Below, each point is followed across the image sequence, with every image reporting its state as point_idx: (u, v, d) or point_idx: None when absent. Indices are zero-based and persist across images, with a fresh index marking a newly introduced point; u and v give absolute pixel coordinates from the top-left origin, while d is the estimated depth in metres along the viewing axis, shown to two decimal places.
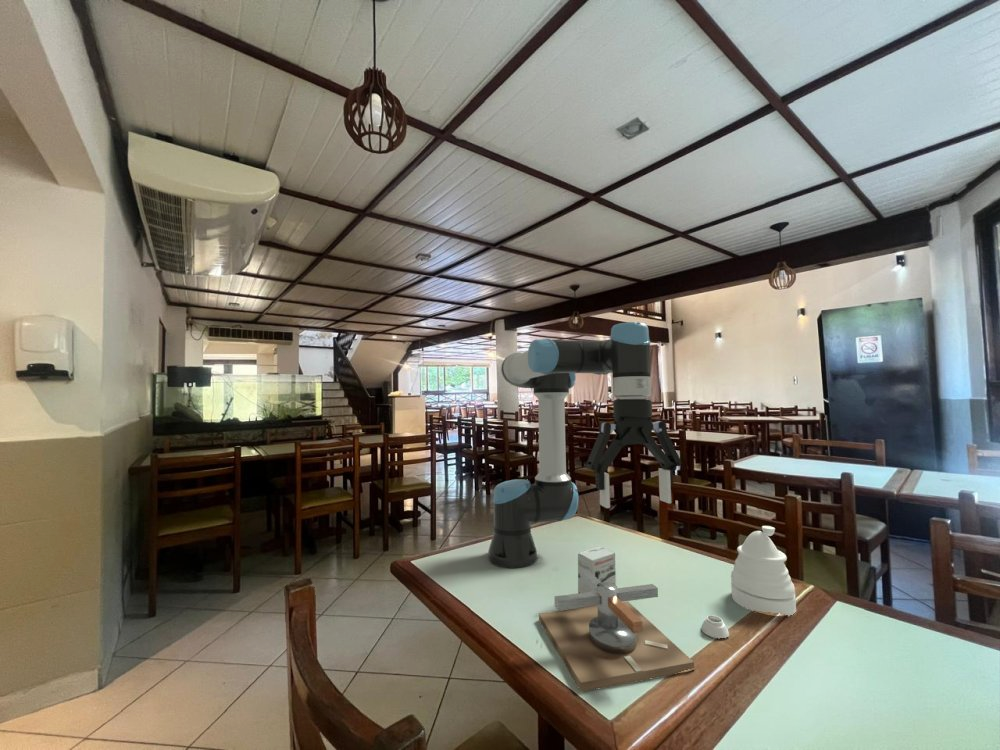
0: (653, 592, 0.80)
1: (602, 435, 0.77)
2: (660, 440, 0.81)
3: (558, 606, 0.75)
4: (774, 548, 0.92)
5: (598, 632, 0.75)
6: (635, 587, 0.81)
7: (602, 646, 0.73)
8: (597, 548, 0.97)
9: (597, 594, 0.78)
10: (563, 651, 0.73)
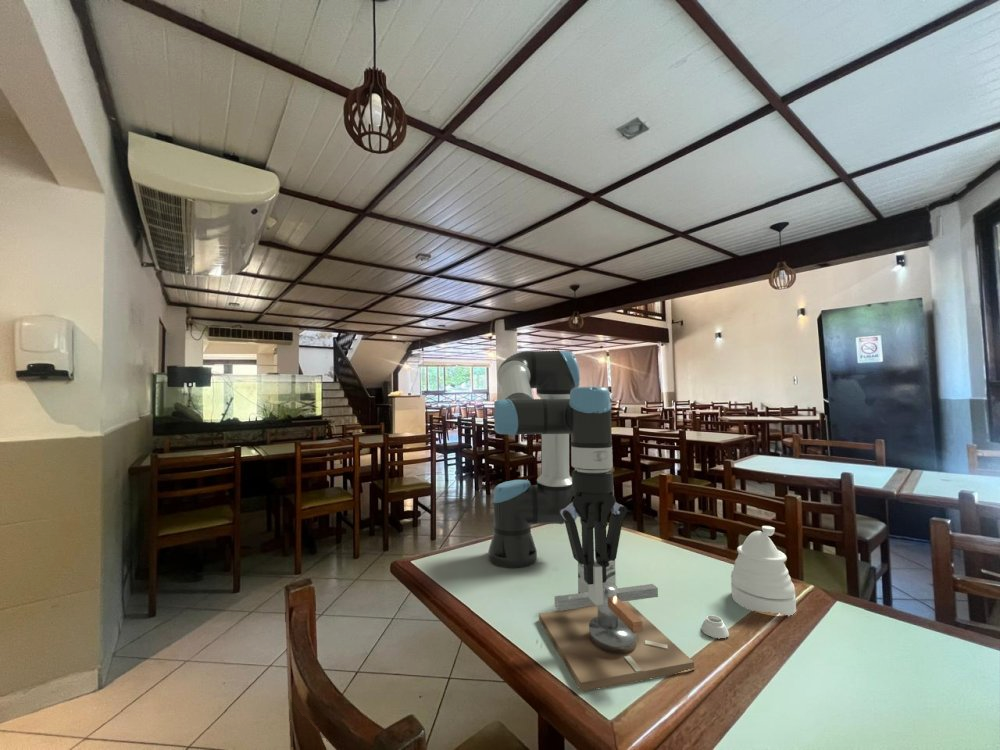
0: (653, 592, 0.80)
1: (568, 525, 0.70)
2: (611, 524, 0.73)
3: (558, 606, 0.75)
4: (774, 548, 0.92)
5: (598, 632, 0.75)
6: (635, 587, 0.81)
7: (602, 646, 0.73)
8: None
9: None
10: (563, 651, 0.73)
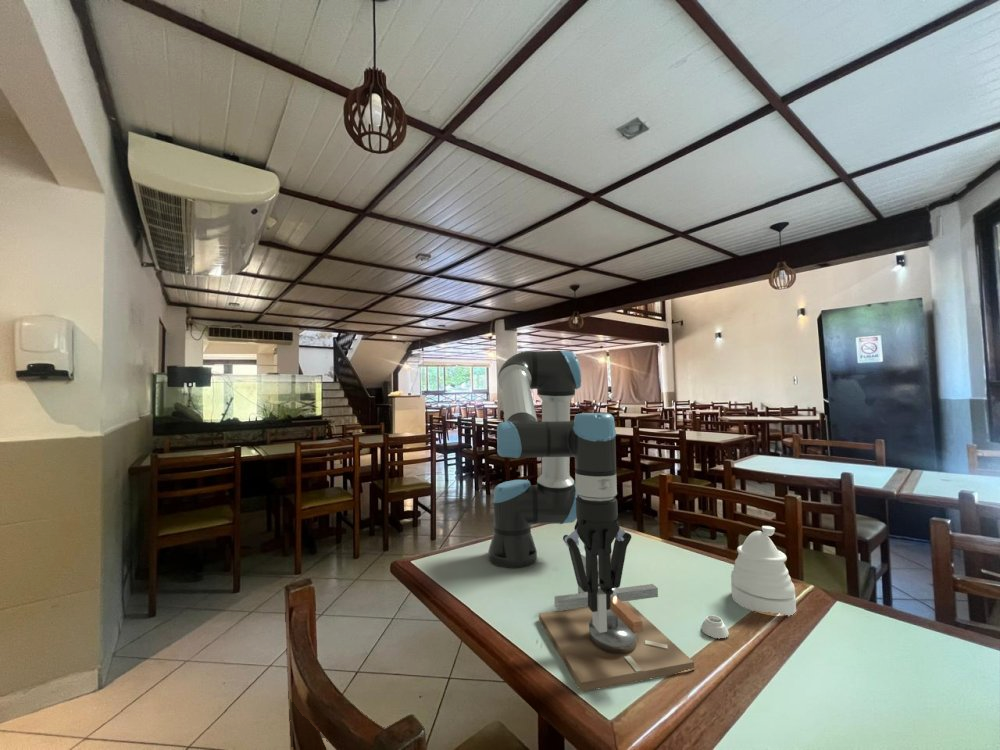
0: (653, 592, 0.80)
1: (572, 552, 0.70)
2: (614, 550, 0.73)
3: (558, 606, 0.75)
4: (774, 548, 0.92)
5: (598, 632, 0.75)
6: (635, 587, 0.81)
7: (602, 646, 0.73)
8: None
9: None
10: (563, 651, 0.73)
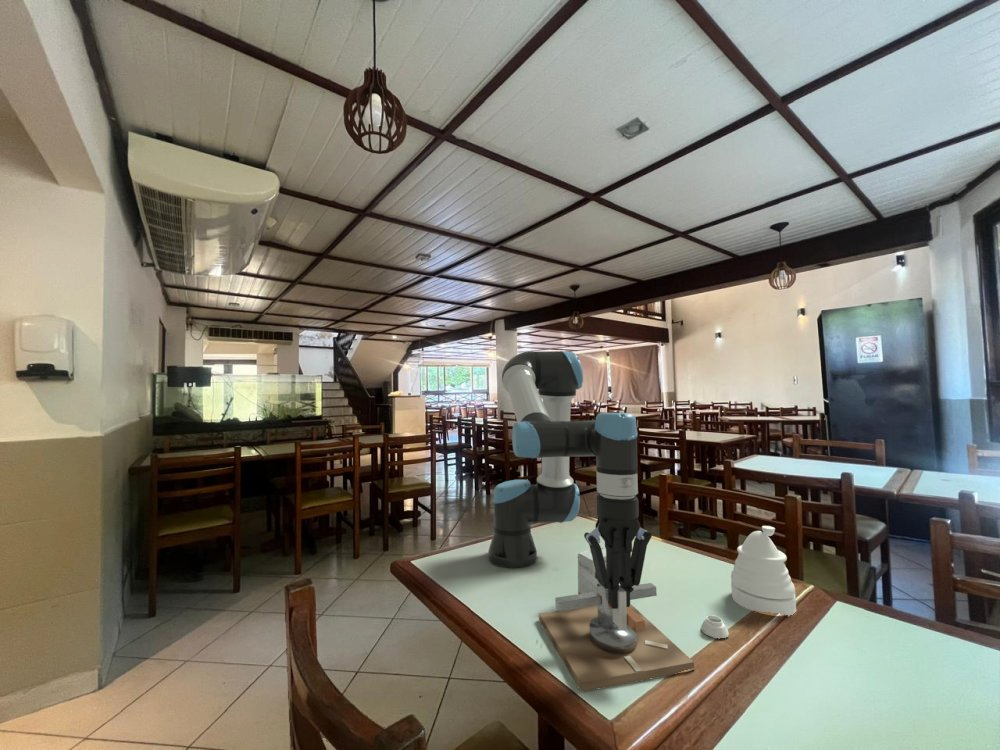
0: (652, 591, 0.80)
1: (593, 550, 0.71)
2: (634, 548, 0.74)
3: (559, 607, 0.75)
4: (774, 548, 0.92)
5: (599, 633, 0.75)
6: (634, 586, 0.81)
7: (603, 646, 0.73)
8: None
9: (597, 594, 0.78)
10: (563, 651, 0.73)
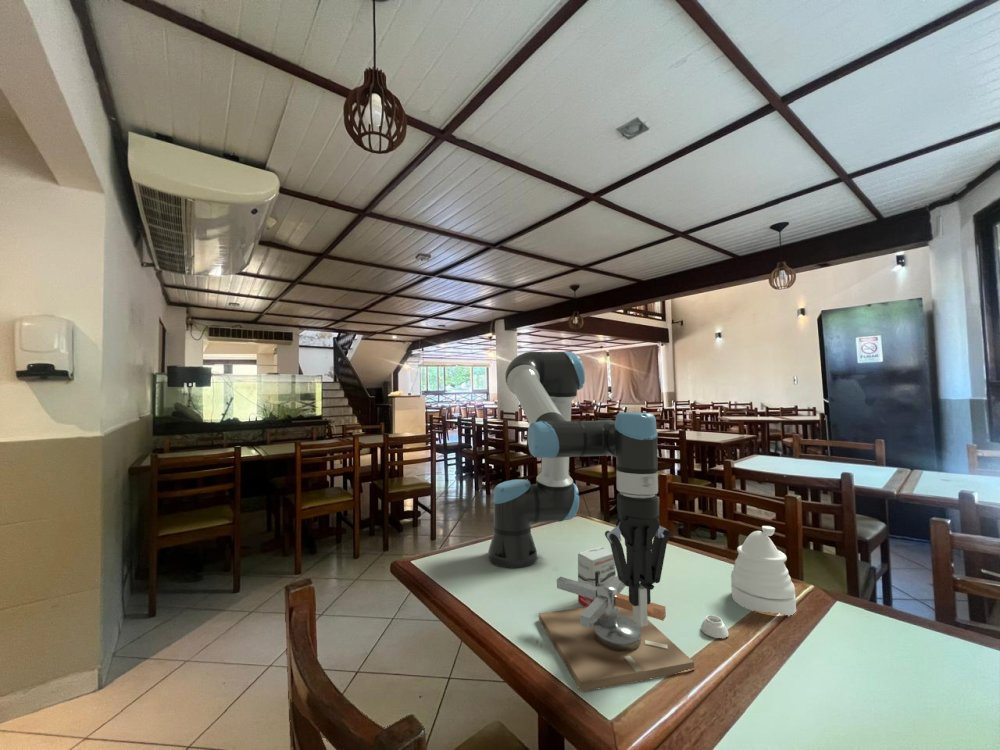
0: None
1: (614, 548, 0.72)
2: (654, 546, 0.75)
3: (589, 623, 0.69)
4: (774, 548, 0.92)
5: (614, 635, 0.74)
6: (616, 579, 0.84)
7: (624, 647, 0.73)
8: (597, 548, 0.97)
9: (604, 597, 0.77)
10: (563, 651, 0.73)
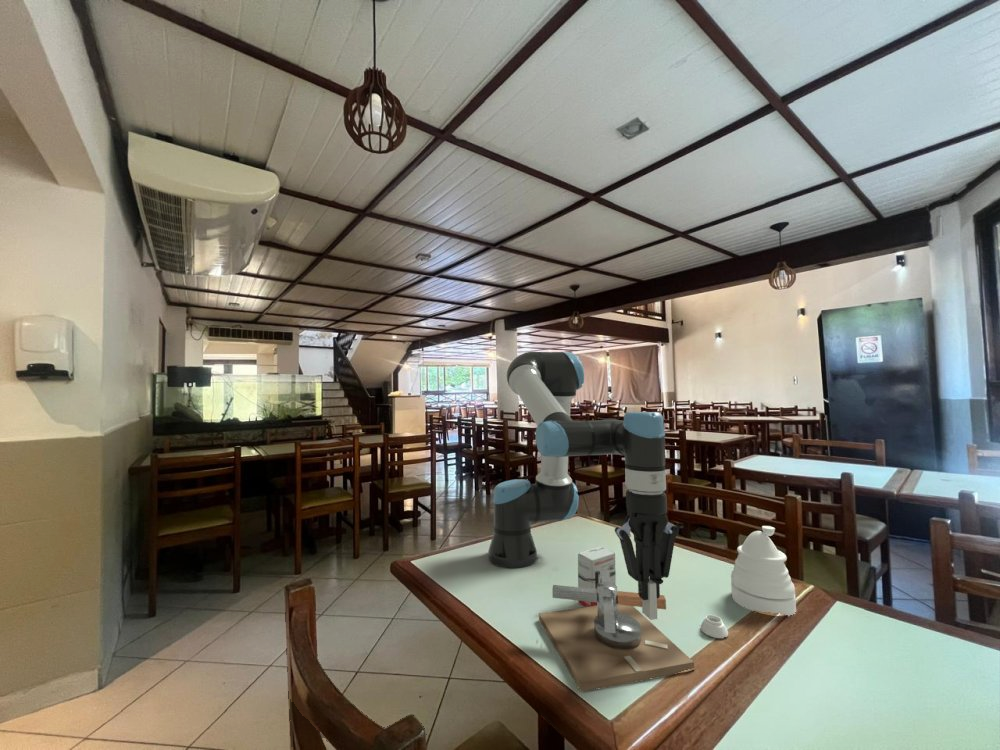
0: None
1: (624, 543, 0.74)
2: (662, 542, 0.77)
3: (614, 628, 0.68)
4: (774, 548, 0.92)
5: (623, 634, 0.74)
6: (604, 577, 0.85)
7: (633, 644, 0.74)
8: (597, 548, 0.97)
9: (609, 598, 0.76)
10: (563, 651, 0.73)
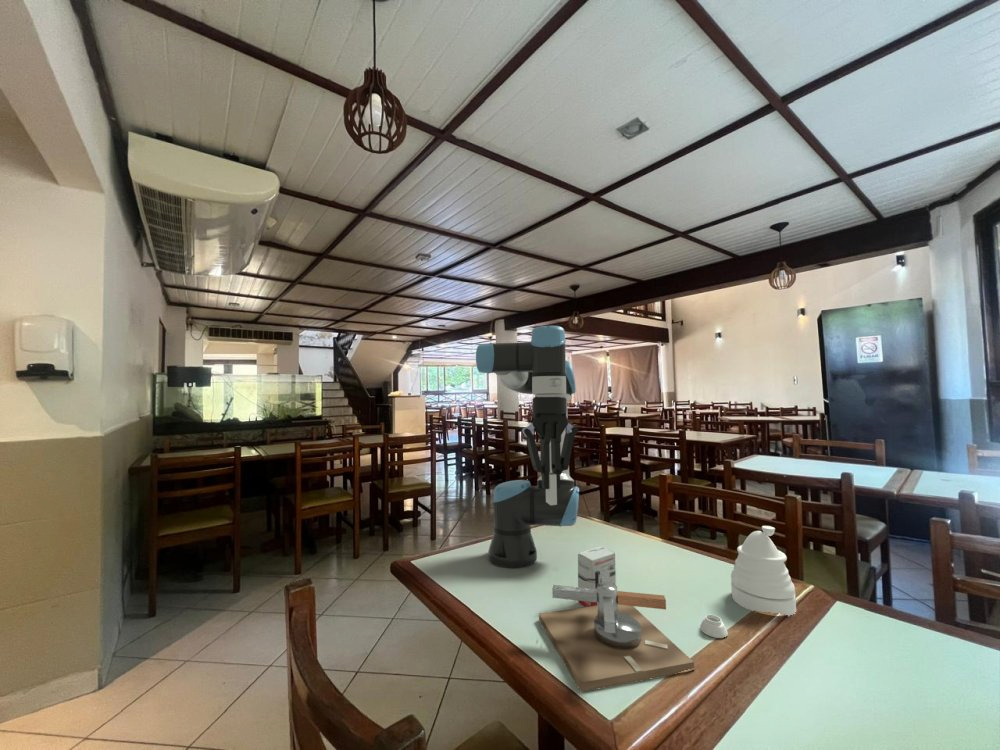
0: None
1: (528, 440, 0.84)
2: (564, 441, 0.87)
3: (614, 628, 0.68)
4: (774, 548, 0.92)
5: (623, 634, 0.74)
6: (604, 577, 0.85)
7: (633, 643, 0.74)
8: (597, 548, 0.97)
9: (609, 598, 0.76)
10: (563, 651, 0.73)
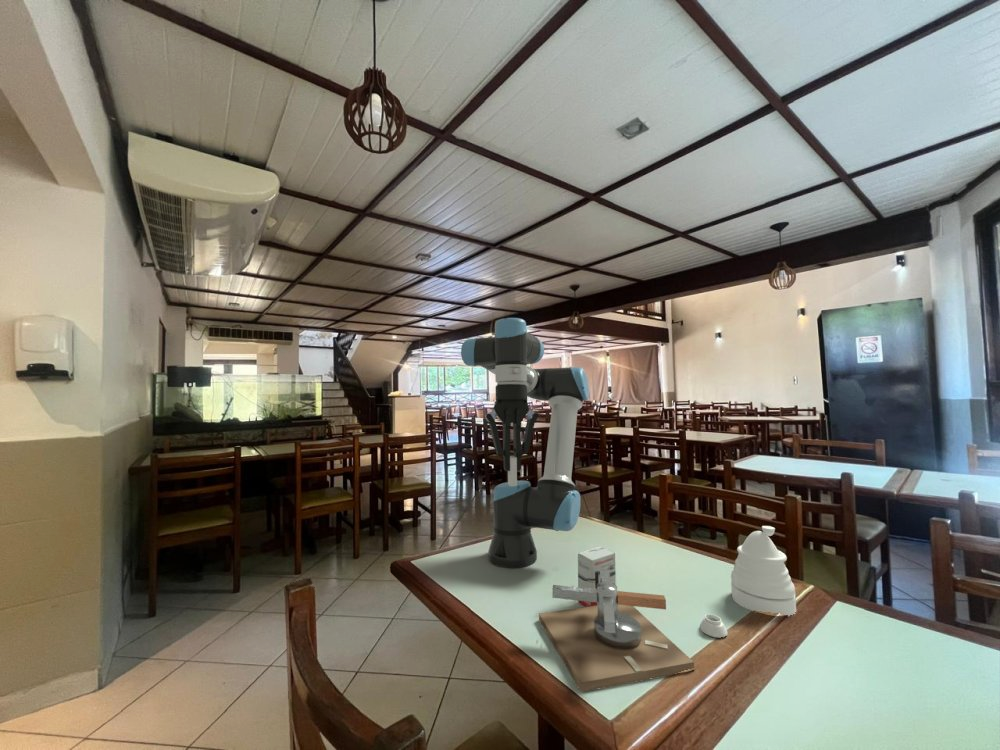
0: None
1: (490, 425, 0.90)
2: (526, 427, 0.92)
3: (614, 628, 0.68)
4: (774, 548, 0.92)
5: (623, 634, 0.74)
6: (604, 577, 0.85)
7: (633, 643, 0.74)
8: (597, 548, 0.97)
9: (609, 598, 0.76)
10: (563, 651, 0.73)
